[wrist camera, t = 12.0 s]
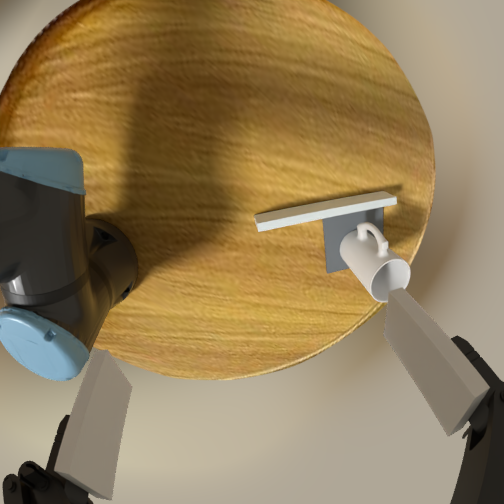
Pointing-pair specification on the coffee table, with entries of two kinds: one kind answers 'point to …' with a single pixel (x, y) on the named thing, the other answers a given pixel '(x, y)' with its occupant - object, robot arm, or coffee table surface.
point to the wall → (323, 210)
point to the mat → (341, 227)
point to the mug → (374, 261)
